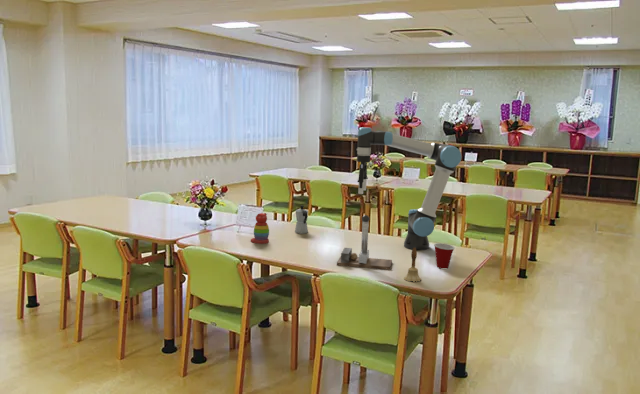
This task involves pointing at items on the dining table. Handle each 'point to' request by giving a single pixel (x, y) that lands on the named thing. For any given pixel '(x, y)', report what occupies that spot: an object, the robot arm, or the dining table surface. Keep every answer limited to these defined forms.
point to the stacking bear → (261, 229)
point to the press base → (353, 261)
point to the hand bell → (413, 269)
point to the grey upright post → (364, 241)
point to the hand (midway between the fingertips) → (362, 192)
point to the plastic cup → (443, 254)
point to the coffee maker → (301, 221)
